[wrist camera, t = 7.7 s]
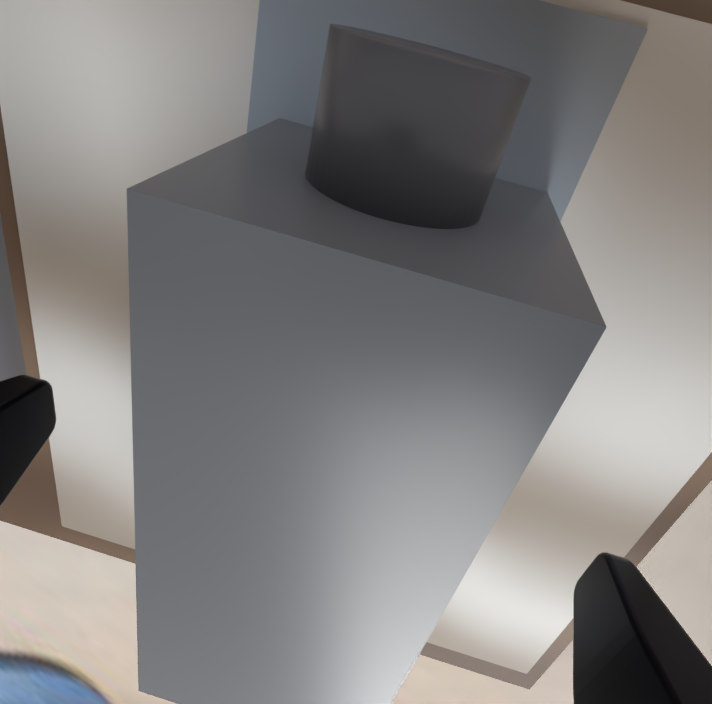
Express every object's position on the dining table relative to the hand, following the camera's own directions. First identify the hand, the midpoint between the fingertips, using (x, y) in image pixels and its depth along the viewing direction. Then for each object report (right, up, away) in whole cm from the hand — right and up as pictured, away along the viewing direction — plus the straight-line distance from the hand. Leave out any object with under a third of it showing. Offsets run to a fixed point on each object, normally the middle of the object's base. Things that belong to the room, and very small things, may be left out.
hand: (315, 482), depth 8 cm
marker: (+1, +1, +2) cm, 2 cm away
